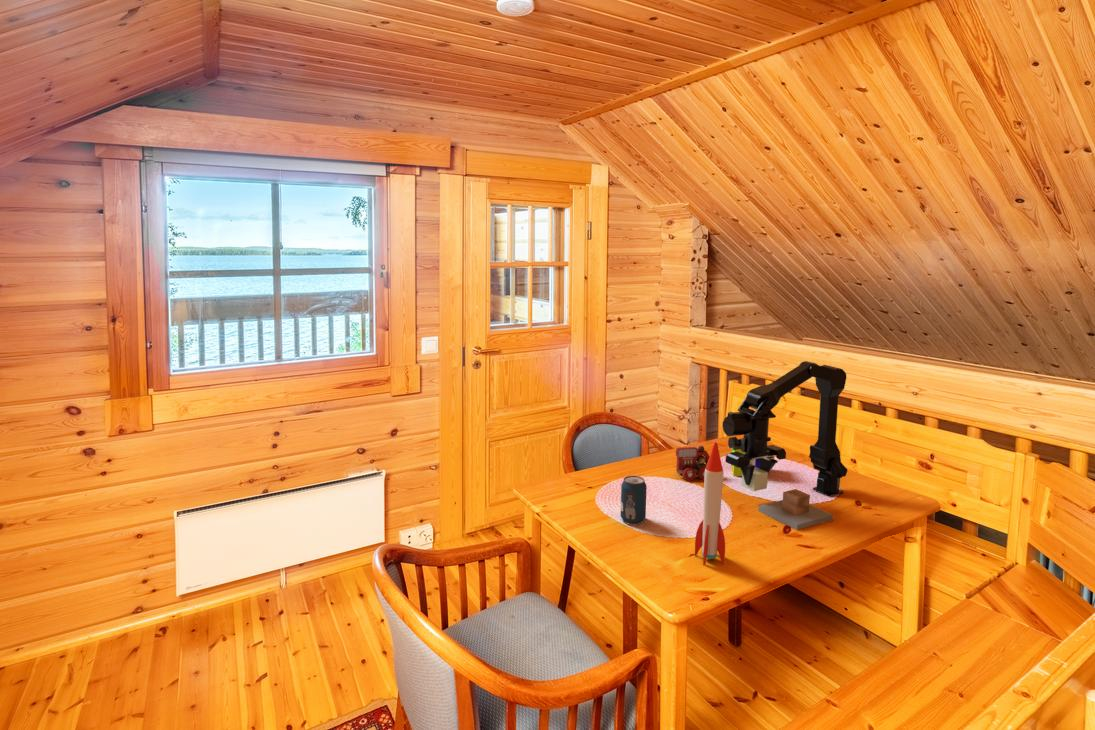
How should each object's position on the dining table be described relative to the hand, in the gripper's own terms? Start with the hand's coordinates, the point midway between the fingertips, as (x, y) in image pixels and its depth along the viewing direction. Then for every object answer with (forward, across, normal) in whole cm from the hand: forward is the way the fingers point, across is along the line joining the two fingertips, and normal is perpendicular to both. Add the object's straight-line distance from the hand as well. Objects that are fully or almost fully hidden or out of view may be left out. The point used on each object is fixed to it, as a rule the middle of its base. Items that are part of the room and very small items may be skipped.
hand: (754, 483), depth 188 cm
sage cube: (+1, 0, 0) cm, 1 cm away
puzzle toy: (+6, -17, -20) cm, 27 cm away
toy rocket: (+6, +35, +21) cm, 41 cm away
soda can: (+6, +39, -6) cm, 40 cm away
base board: (+6, -4, +12) cm, 14 cm away
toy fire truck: (+6, +2, -25) cm, 26 cm away
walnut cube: (+4, -4, +12) cm, 13 cm away
